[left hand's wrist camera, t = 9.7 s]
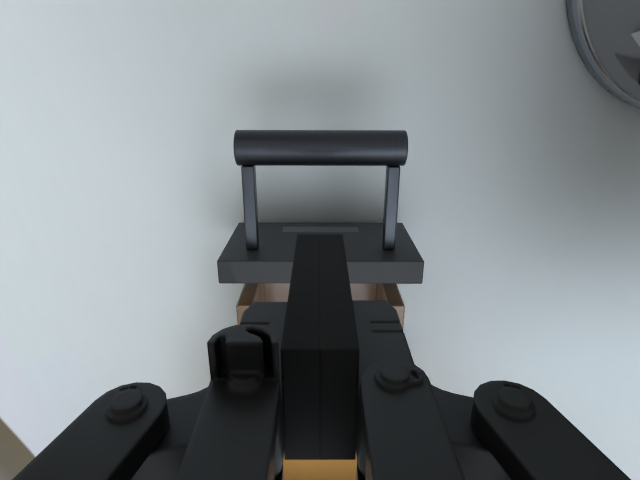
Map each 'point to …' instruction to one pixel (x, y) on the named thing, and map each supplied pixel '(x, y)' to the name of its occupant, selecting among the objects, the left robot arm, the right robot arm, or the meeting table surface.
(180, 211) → the meeting table surface
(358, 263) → the drawer
